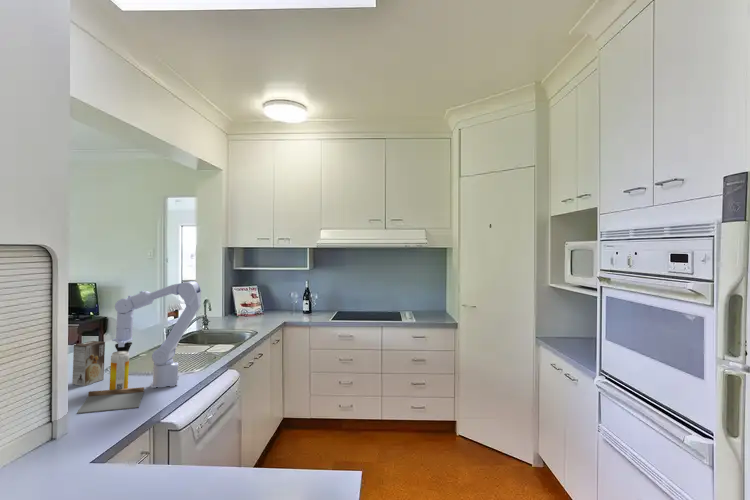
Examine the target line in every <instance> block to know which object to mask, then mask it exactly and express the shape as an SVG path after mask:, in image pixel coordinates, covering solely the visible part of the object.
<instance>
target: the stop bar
mask: <svg viewBox="0 0 750 500" xmlns="http://www.w3.org/2000/svg"><path fill="white" fill-rule="evenodd" d="M135 392H144V393H145V387H144V386H143V387H142V386H140V387H132V388H131V387H128V389H115V390H109V389H103V390H93V391H92V390H90V391H88V393H87V394H88V395H87V397H88V396H99V395H111V394H123V393H135Z"/></svg>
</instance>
